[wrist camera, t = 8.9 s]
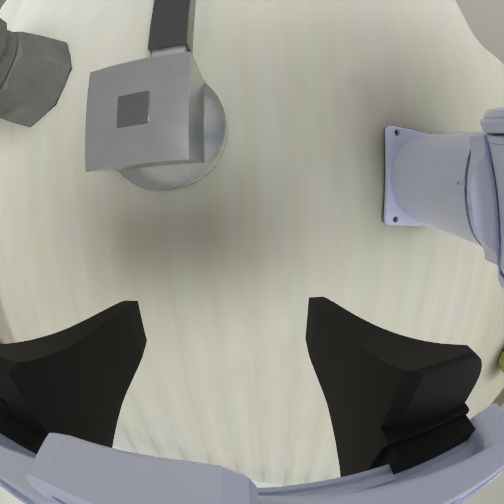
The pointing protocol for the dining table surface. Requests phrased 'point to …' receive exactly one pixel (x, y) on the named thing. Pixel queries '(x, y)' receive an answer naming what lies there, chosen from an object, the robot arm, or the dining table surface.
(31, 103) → the coffeepot
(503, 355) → the plant pot
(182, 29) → the ratchet
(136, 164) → the grey cube
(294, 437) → the dining table surface
